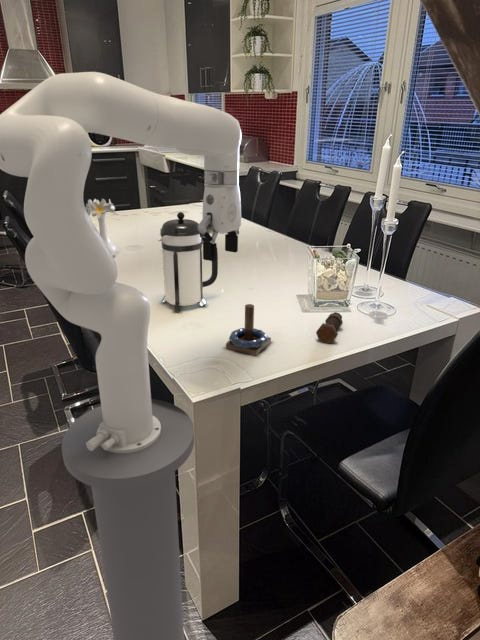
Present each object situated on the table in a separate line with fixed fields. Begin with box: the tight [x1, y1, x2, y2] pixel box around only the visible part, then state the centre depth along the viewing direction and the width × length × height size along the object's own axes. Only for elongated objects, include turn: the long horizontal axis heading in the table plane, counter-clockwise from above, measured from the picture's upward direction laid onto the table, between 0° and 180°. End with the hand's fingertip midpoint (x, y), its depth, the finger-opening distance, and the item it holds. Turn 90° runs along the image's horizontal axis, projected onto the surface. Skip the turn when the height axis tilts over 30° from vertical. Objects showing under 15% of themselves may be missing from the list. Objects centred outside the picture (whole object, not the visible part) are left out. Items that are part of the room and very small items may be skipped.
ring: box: [228, 327, 269, 348], centre depth 124 cm, size 10×10×2 cm
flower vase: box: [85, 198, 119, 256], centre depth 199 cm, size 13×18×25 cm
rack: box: [225, 303, 272, 357], centre depth 123 cm, size 9×9×12 cm
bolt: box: [315, 311, 344, 344], centre depth 133 cm, size 6×5×15 cm
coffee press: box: [157, 211, 219, 313], centre depth 148 cm, size 17×16×30 cm
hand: (220, 255), depth 108 cm, fingers open, 9 cm apart
